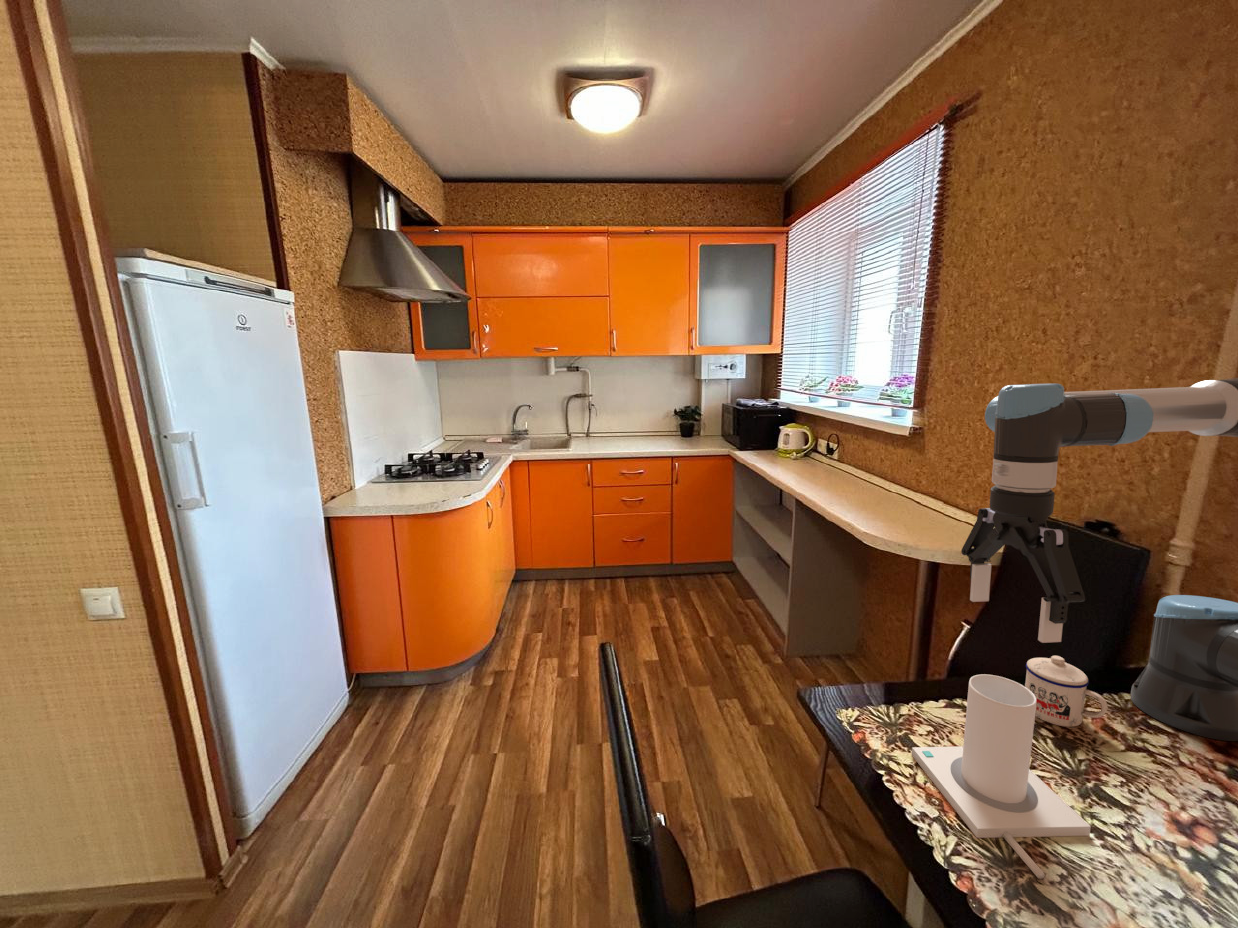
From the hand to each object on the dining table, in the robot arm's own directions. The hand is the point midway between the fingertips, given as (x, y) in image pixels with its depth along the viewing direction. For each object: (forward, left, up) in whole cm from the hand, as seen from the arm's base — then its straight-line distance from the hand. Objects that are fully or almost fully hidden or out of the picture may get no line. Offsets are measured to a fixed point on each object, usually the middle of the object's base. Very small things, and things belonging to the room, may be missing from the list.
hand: (1011, 619), depth 77 cm
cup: (+3, +3, -26) cm, 26 cm away
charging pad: (+3, +7, -27) cm, 28 cm away
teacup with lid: (-23, -14, -28) cm, 38 cm away
